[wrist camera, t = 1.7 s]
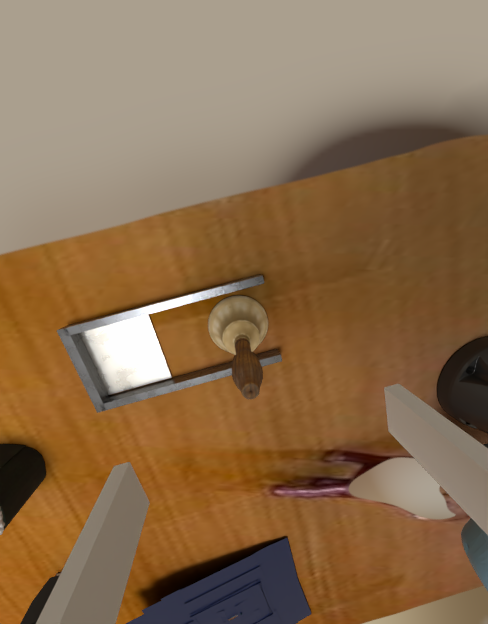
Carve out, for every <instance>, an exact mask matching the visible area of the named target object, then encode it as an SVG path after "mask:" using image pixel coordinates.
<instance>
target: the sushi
mask: <svg viewBox="0 0 488 624" xmlns="http://www.w3.org/2000/svg"><path fill="white" fill-rule="evenodd" d="M45 476H46V470H45V462H44V460H43V457H42V455H41V454H40V453H39V452H37V451H36V450H34V449H32V448H30V447H26V446H25V445H14V444H0V535H2V533H3V530H4V529H5V528H6V527H7V525H8V524H9V523H10V522H11V520H12V519H13V518H14V517H15V515H16V514H17V513H18V511H19V510H20V509H21V508H22V506H23V505H24V504H25V503H26V501H27V500H28V499H29V497H30V496H31V495H32V494H33V492H34V491H35V490H36V489H37V487H38V486H39V485H40V484H41V482H42V481H43V480H44V478H45Z"/></svg>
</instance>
